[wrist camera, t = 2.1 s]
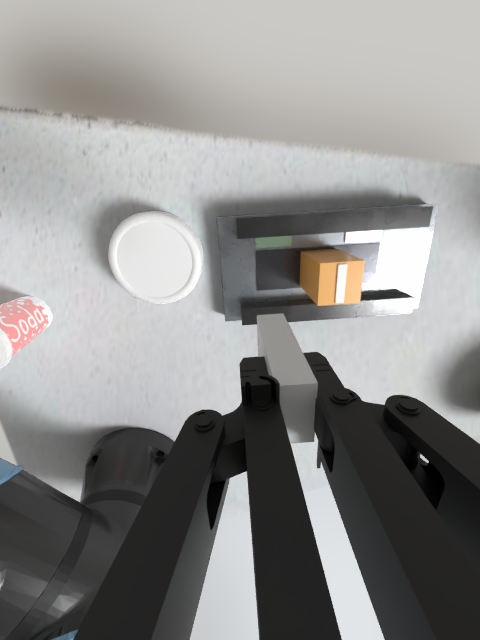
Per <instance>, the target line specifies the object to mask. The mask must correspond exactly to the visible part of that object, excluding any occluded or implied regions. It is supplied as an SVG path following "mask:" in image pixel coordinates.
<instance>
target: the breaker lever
mask: <svg viewBox="0 0 480 640" xmlns="http://www.w3.org/2000/svg"><path fill="white" fill-rule="evenodd" d="M364 265H365V260H363V259H360V258H358V257H355V256H353V255H351V254H348V253H346V252H343V251H341V250H338V249H322V250H307V251H301V254H300V287H301V288H302V289H303V290H304V291H305V292H306V293H307V295H308V296H309V297H310V298H311V299H312V300H313V301H314V302H315V304H316V305H317V306H325V305H340V304H355V303H360V298H361V290H362V282H363V273H364Z"/></svg>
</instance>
